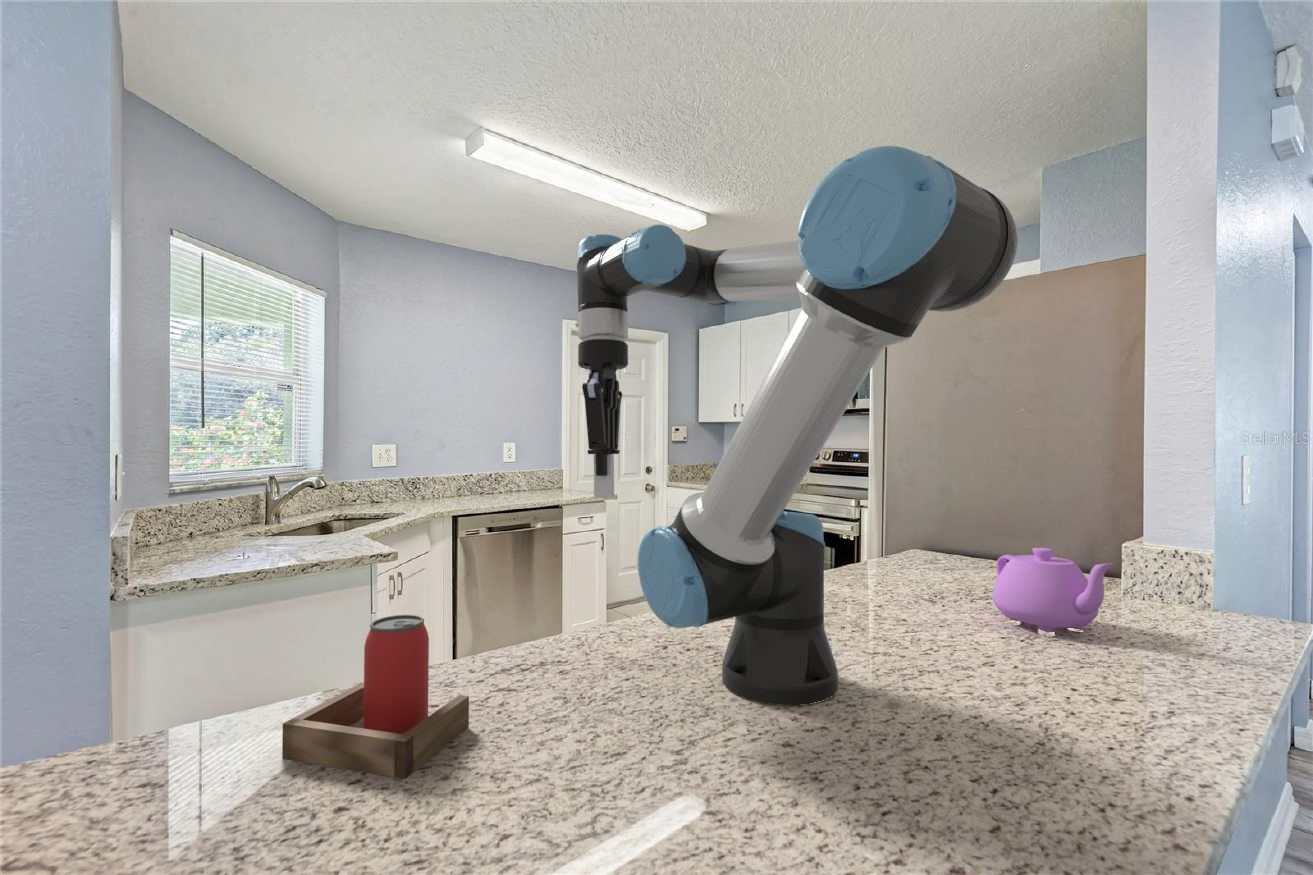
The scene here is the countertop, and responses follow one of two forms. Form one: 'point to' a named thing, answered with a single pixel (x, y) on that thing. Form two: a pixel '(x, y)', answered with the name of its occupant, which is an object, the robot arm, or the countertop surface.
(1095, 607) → the teapot
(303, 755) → the walnut bay
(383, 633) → the beer can
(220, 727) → the countertop surface
